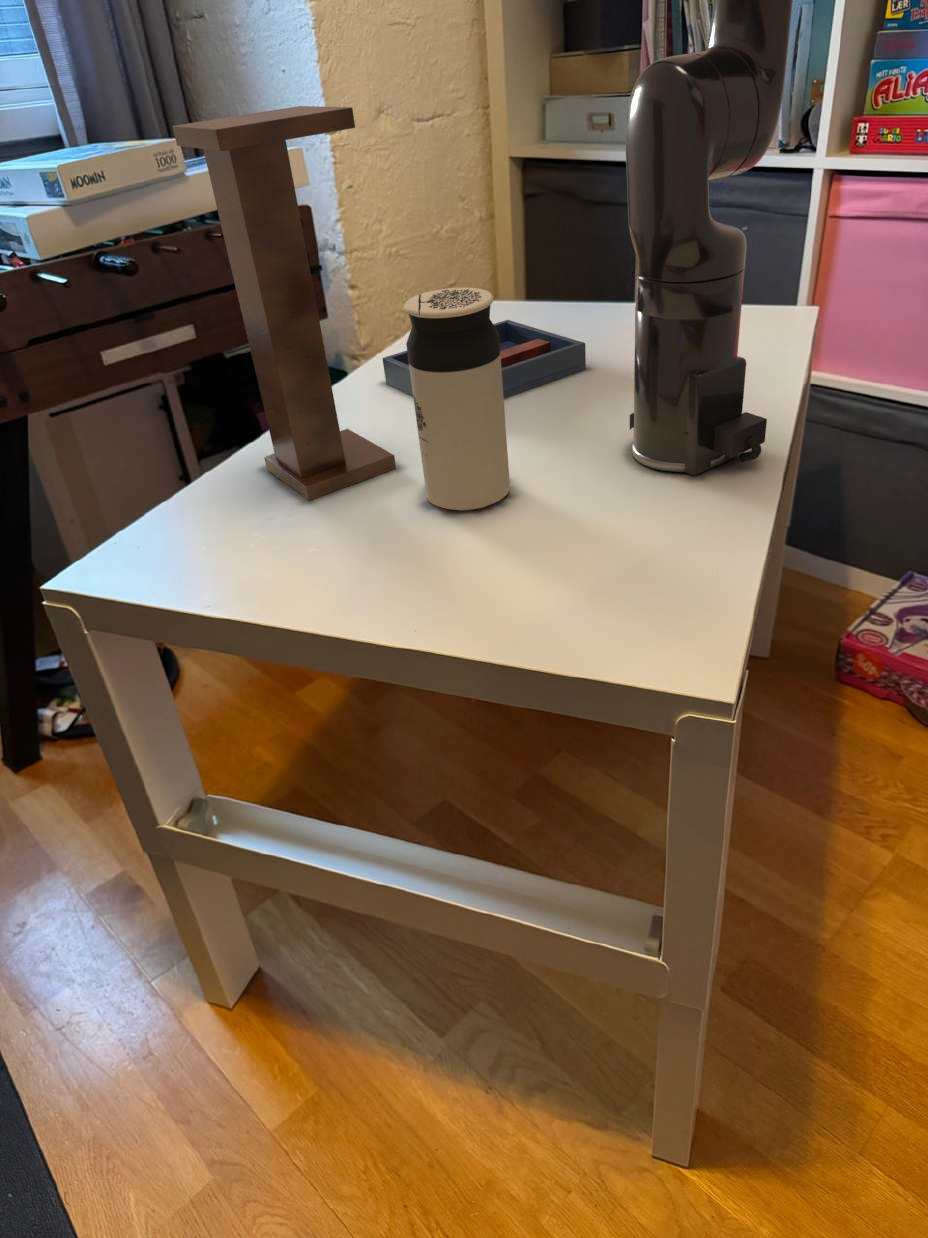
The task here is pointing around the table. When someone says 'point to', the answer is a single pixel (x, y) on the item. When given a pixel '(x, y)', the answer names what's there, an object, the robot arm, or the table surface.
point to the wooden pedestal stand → (282, 293)
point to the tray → (518, 376)
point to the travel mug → (458, 397)
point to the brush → (524, 352)
